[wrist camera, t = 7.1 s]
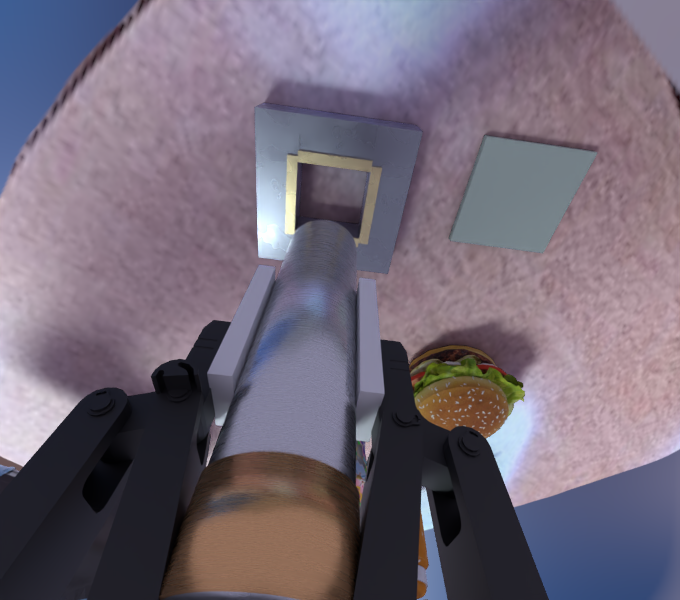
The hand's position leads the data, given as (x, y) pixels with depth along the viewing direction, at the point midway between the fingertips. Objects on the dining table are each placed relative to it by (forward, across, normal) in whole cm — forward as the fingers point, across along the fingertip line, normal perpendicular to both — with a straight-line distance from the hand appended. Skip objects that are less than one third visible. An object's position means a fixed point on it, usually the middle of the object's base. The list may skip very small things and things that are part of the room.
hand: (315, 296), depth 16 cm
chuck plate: (+16, 0, 0) cm, 16 cm away
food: (+17, +18, -22) cm, 33 cm away
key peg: (+5, 0, 0) cm, 5 cm away
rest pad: (+16, +16, +1) cm, 23 cm away
